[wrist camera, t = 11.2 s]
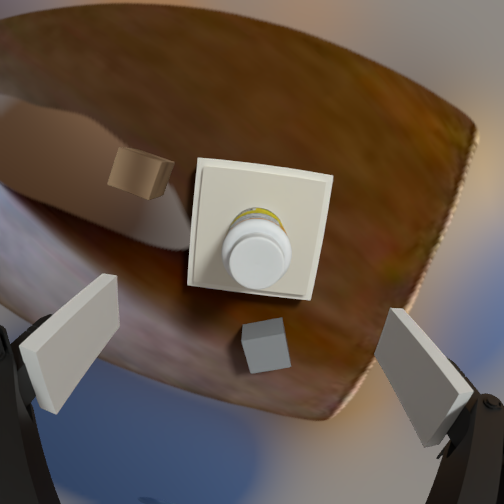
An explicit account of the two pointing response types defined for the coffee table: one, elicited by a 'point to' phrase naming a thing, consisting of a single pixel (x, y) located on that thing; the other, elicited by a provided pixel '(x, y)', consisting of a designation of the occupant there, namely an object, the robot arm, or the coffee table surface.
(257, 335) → the grey matte cube
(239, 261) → the supplement bottle
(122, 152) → the walnut block
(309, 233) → the podium
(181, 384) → the coffee table surface
